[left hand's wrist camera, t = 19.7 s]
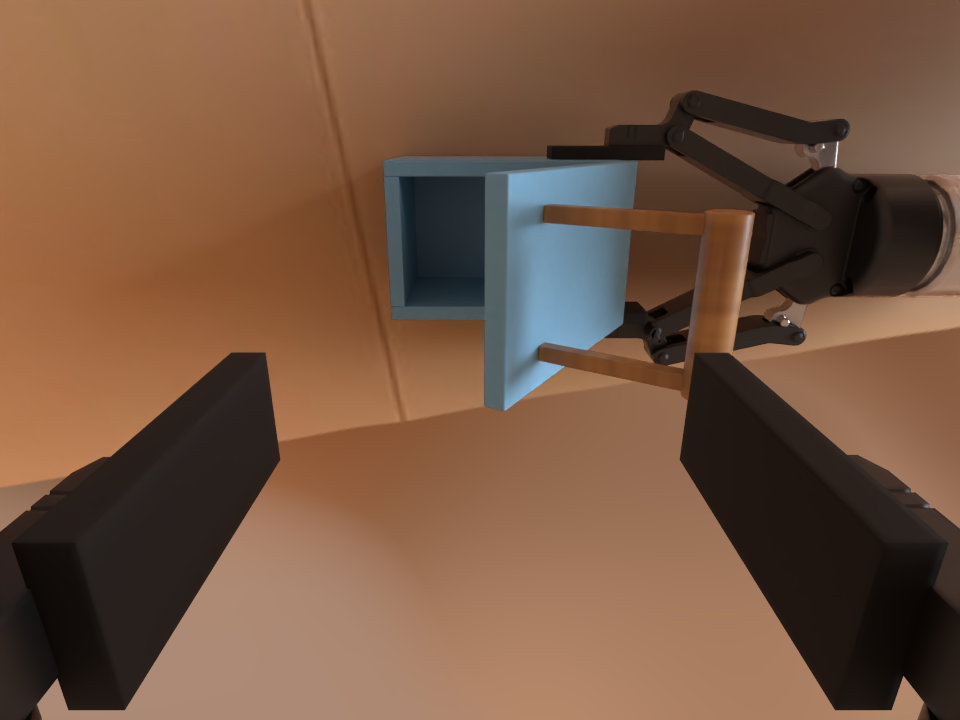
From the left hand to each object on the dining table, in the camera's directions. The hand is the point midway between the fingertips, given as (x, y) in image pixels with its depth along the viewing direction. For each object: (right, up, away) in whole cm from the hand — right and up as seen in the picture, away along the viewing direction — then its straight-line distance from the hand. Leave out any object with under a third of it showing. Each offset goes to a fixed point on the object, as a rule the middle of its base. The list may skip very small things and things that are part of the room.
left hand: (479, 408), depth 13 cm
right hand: (+4, +9, +23) cm, 25 cm away
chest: (+1, +11, +29) cm, 31 cm away
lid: (+4, +6, +15) cm, 16 cm away
